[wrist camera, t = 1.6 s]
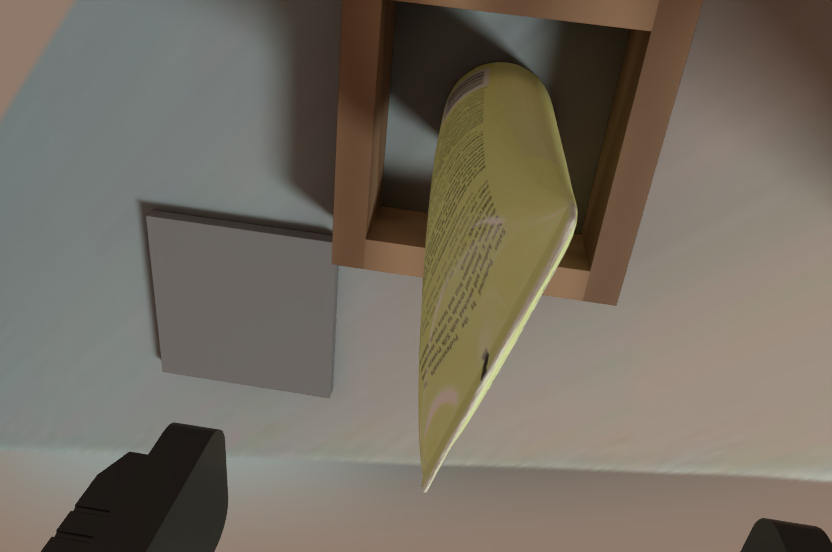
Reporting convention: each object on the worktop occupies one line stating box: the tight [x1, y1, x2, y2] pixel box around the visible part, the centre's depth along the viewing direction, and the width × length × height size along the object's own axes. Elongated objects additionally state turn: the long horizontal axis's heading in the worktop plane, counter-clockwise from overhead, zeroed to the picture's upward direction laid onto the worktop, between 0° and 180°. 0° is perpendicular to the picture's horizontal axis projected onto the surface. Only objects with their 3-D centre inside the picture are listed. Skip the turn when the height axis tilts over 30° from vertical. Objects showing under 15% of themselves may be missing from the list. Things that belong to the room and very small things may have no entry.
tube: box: [419, 62, 578, 492], centre depth 22 cm, size 6×5×20 cm
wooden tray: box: [331, 0, 703, 306], centre depth 28 cm, size 13×13×4 cm
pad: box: [146, 210, 338, 398], centre depth 36 cm, size 10×10×1 cm
